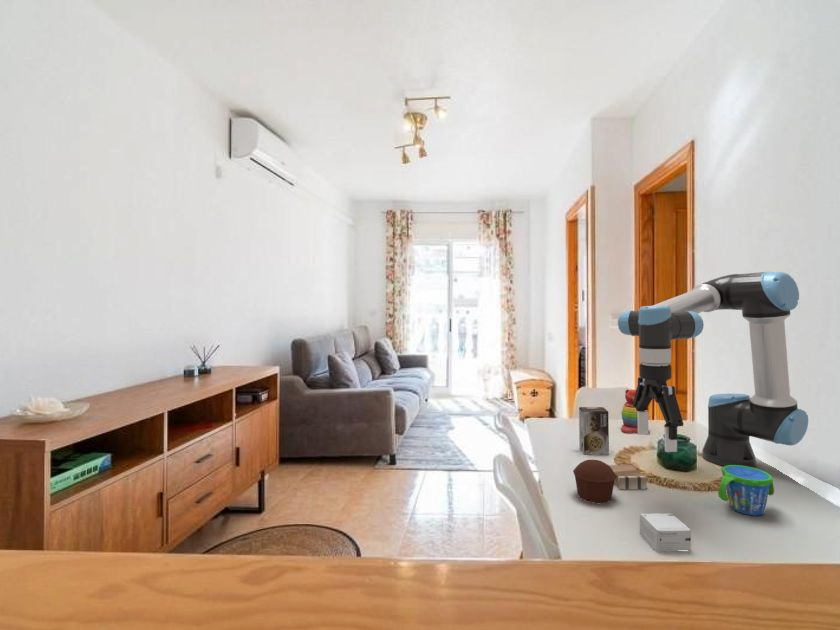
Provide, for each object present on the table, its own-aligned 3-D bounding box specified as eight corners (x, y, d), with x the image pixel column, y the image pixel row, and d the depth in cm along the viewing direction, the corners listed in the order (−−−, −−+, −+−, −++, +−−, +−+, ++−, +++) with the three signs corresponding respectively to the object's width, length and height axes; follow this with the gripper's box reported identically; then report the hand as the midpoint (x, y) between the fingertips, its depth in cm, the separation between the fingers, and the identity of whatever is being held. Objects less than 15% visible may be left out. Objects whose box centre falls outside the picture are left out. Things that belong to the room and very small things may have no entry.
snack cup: (735, 521, 108) (735, 481, 107) (703, 502, 118) (704, 466, 118) (792, 518, 109) (792, 478, 109) (755, 499, 120) (756, 463, 119)
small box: (656, 552, 95) (656, 530, 95) (638, 533, 103) (638, 512, 103) (691, 552, 95) (691, 529, 95) (671, 533, 103) (671, 512, 103)
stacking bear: (623, 433, 181) (623, 391, 180) (617, 426, 191) (617, 386, 190) (651, 434, 178) (651, 392, 178) (644, 428, 188) (644, 387, 188)
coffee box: (603, 449, 162) (603, 406, 161) (609, 455, 155) (609, 411, 155) (578, 448, 163) (578, 406, 162) (583, 454, 156) (583, 410, 156)
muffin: (596, 509, 115) (596, 472, 114) (564, 493, 125) (564, 459, 124) (625, 499, 120) (625, 464, 120) (592, 485, 130) (592, 452, 130)
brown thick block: (646, 477, 127) (630, 464, 137) (619, 477, 127) (605, 465, 137) (646, 489, 127) (630, 475, 137) (619, 489, 127) (605, 475, 137)
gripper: (699, 371, 101) (700, 459, 102) (644, 356, 126) (646, 427, 127) (667, 372, 101) (668, 460, 102) (619, 357, 126) (620, 428, 127)
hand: (656, 442), depth 115 cm, fingers open, 13 cm apart
